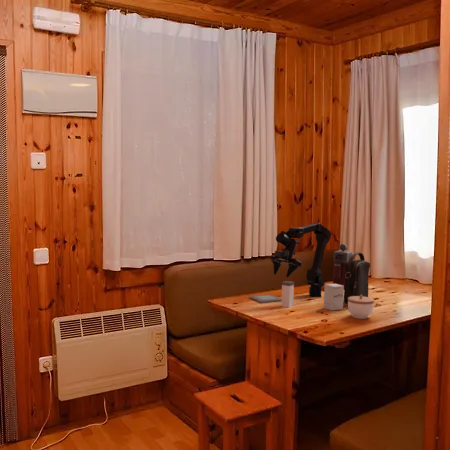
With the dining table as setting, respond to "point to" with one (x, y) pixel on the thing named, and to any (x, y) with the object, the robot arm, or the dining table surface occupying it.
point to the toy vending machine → (340, 264)
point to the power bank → (287, 293)
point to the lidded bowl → (360, 306)
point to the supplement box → (333, 296)
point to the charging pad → (266, 298)
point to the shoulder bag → (356, 277)
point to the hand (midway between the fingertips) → (280, 275)
